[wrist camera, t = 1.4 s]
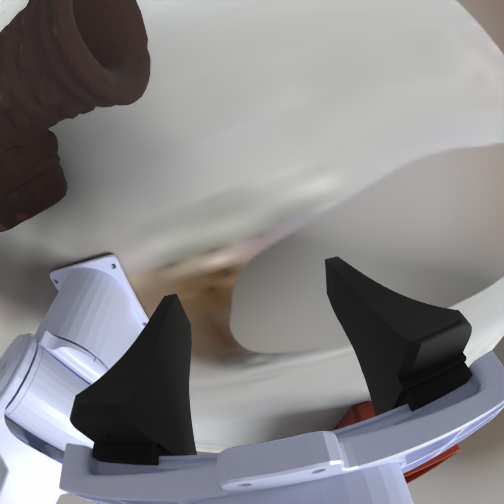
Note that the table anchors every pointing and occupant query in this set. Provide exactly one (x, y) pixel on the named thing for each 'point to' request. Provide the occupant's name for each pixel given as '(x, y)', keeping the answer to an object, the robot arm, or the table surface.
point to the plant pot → (367, 412)
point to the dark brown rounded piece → (60, 88)
